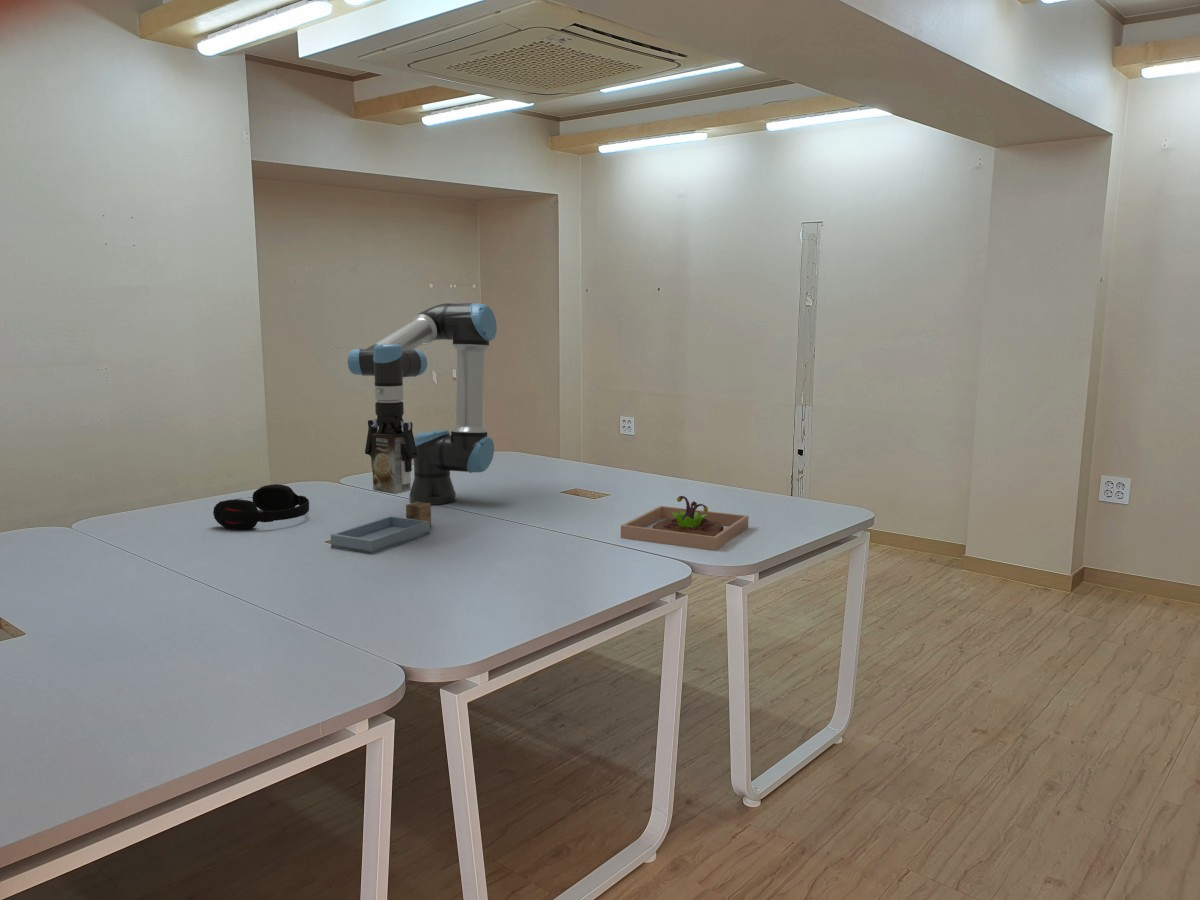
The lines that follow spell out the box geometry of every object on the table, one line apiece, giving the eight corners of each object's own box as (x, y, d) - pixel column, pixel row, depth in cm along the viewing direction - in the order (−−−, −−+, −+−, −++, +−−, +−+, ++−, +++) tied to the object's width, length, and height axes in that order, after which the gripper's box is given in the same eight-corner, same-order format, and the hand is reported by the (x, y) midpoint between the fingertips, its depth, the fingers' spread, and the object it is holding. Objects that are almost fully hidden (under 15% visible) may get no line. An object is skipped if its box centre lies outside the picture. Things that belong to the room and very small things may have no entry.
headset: (222, 512, 273) (220, 485, 271) (310, 507, 280) (309, 480, 279) (210, 534, 246) (208, 504, 245) (308, 528, 254) (307, 498, 252)
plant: (661, 523, 261) (662, 487, 259) (726, 528, 255) (728, 491, 254) (645, 540, 242) (645, 501, 240) (715, 546, 236) (716, 506, 235)
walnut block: (406, 528, 253) (405, 504, 252) (417, 524, 257) (417, 501, 256) (420, 530, 251) (419, 506, 250) (431, 526, 255) (430, 503, 254)
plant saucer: (620, 537, 243) (620, 525, 243) (660, 516, 268) (660, 505, 267) (715, 550, 231) (716, 537, 230) (748, 527, 255) (748, 515, 255)
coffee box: (371, 490, 242) (369, 433, 239) (388, 486, 247) (386, 430, 245) (395, 494, 237) (393, 436, 235) (412, 490, 242) (410, 433, 240)
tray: (331, 547, 233) (330, 534, 232) (391, 527, 254) (390, 515, 253) (371, 554, 226) (371, 541, 226) (429, 533, 247) (429, 521, 247)
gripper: (349, 400, 240) (352, 480, 243) (412, 404, 230) (414, 487, 234) (367, 397, 246) (370, 476, 250) (430, 401, 237) (432, 483, 240)
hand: (391, 481), depth 242 cm, fingers closed on coffee box, 9 cm apart
